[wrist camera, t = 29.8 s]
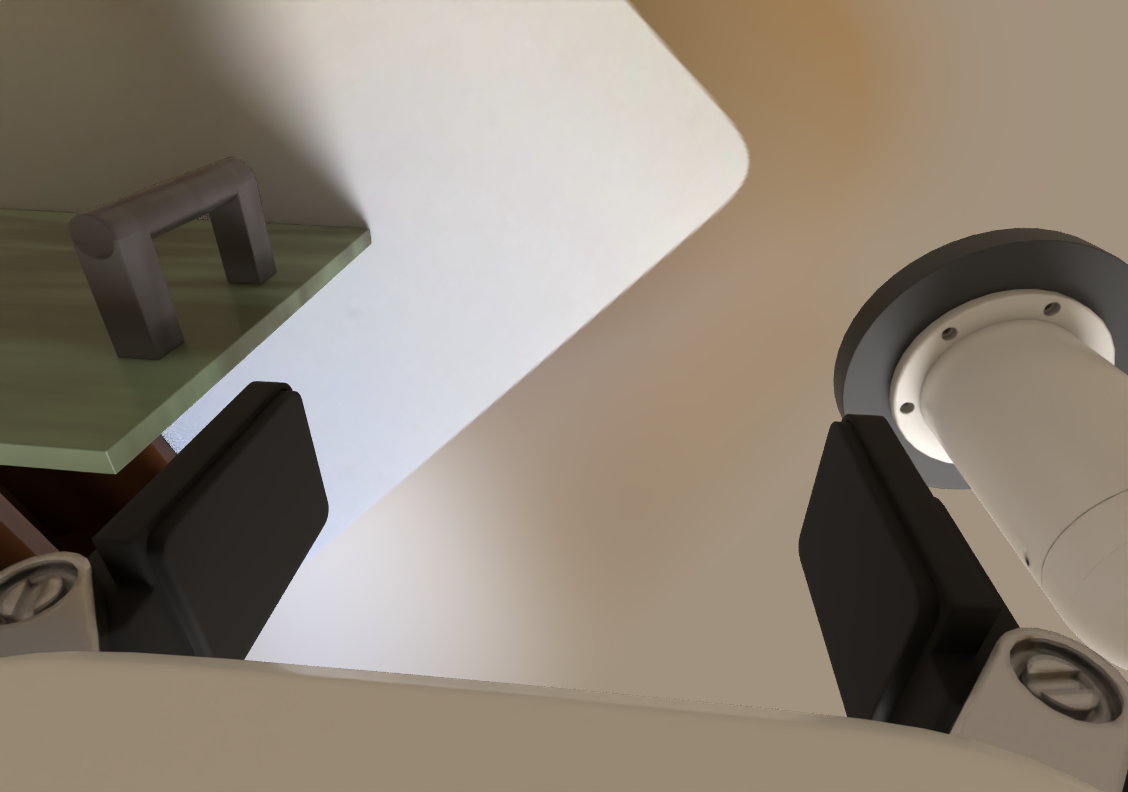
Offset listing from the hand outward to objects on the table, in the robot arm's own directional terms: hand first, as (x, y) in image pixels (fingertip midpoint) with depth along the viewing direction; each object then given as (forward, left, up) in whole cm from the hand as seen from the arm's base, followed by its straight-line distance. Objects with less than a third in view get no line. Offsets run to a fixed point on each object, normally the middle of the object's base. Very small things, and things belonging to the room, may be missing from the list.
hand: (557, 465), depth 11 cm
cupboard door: (+20, +20, -30) cm, 42 cm away
